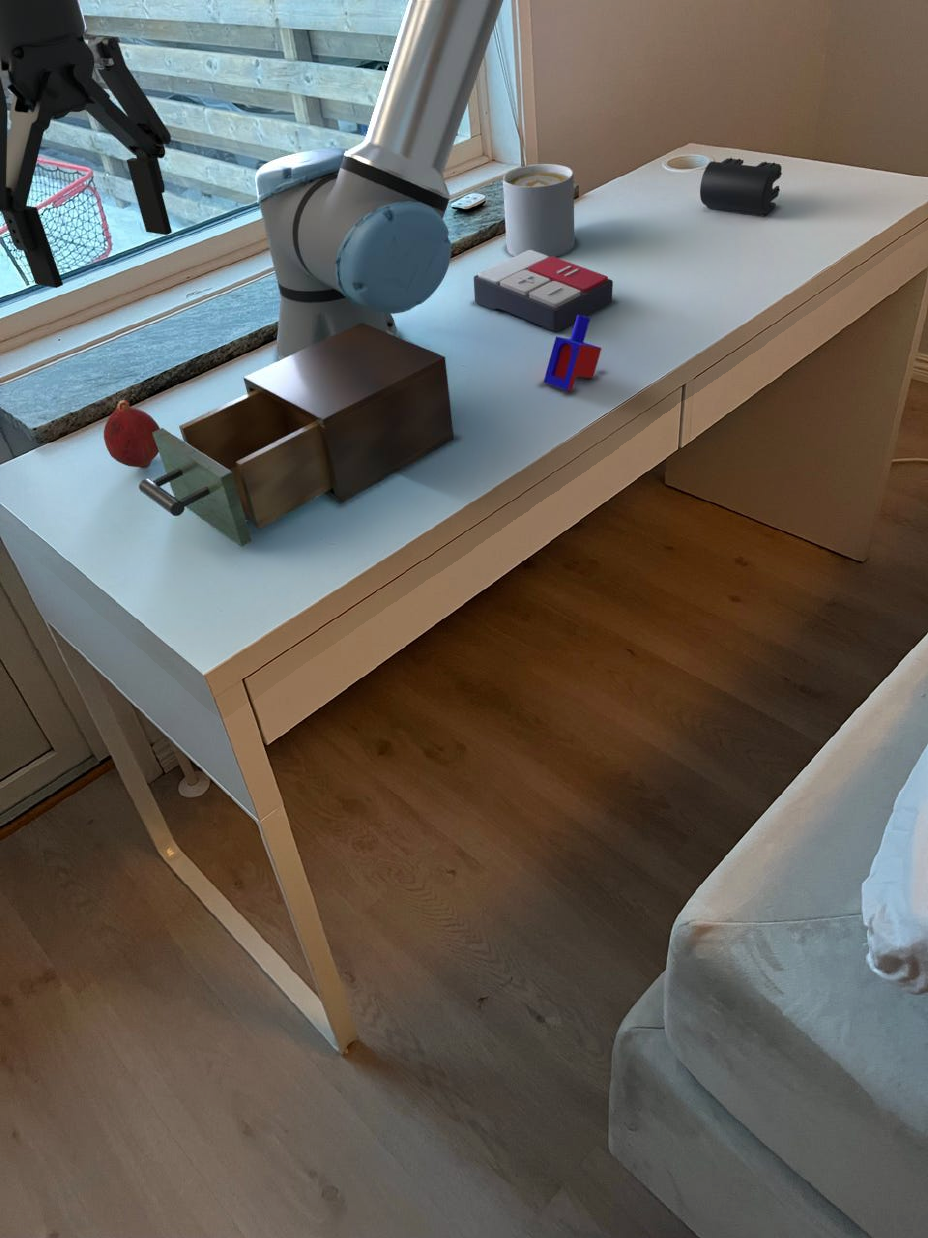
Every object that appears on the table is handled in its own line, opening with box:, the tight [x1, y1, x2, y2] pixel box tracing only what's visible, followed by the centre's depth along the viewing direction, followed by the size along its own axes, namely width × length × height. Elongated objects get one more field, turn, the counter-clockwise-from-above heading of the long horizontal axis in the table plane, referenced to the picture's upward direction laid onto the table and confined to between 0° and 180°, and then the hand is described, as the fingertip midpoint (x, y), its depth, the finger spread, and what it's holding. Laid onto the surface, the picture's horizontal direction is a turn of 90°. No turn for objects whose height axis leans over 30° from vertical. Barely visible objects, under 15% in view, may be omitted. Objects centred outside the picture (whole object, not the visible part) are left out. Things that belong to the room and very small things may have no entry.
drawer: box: [138, 390, 333, 548], centre depth 94 cm, size 19×12×8 cm, turn 133°
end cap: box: [699, 157, 783, 217], centre depth 143 cm, size 10×7×7 cm
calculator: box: [473, 250, 614, 332], centre depth 126 cm, size 11×4×15 cm
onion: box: [103, 399, 161, 469], centre depth 102 cm, size 6×6×8 cm
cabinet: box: [242, 323, 455, 504], centre depth 101 cm, size 16×14×10 cm
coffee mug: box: [502, 163, 575, 258], centre depth 139 cm, size 13×10×10 cm
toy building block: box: [543, 315, 602, 392], centre depth 109 cm, size 4×4×8 cm
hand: (107, 257), depth 88 cm, fingers open, 13 cm apart
